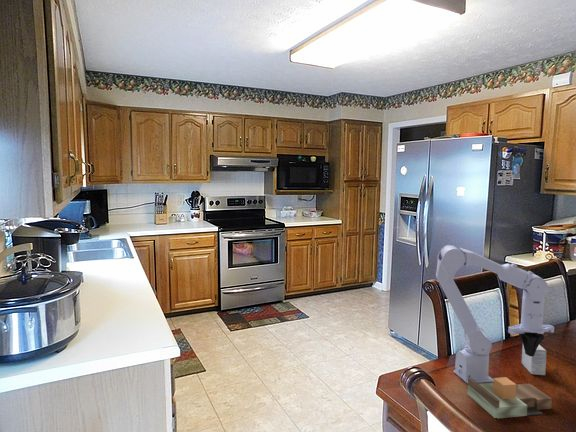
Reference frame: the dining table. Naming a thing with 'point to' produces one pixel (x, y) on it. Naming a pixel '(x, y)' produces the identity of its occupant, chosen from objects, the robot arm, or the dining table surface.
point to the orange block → (504, 388)
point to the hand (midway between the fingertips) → (529, 355)
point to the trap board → (509, 400)
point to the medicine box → (535, 361)
